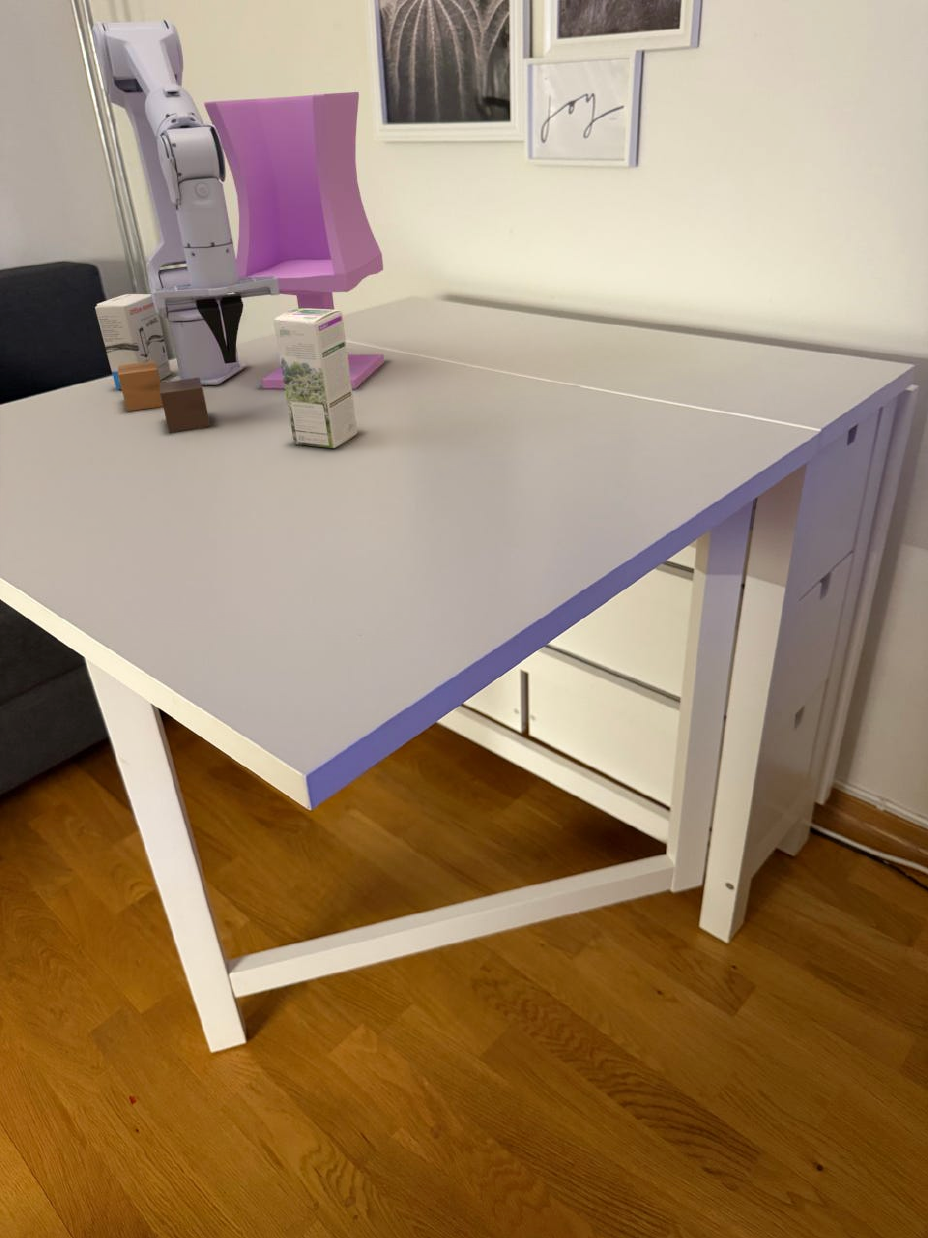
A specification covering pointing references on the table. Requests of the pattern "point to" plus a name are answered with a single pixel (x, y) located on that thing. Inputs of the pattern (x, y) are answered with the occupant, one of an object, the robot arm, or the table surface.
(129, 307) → the ink box
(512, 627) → the table surface
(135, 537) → the table surface
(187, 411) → the walnut block
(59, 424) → the table surface
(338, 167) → the purple pedestal chair
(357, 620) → the table surface
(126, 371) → the oak block
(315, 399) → the syrup box
